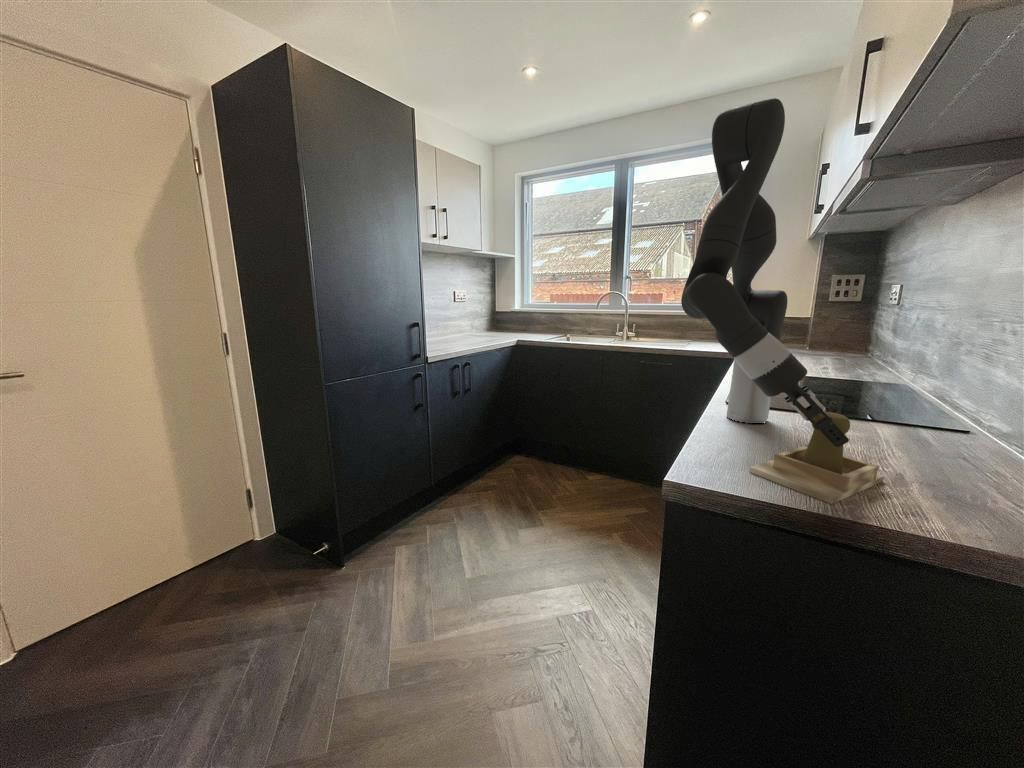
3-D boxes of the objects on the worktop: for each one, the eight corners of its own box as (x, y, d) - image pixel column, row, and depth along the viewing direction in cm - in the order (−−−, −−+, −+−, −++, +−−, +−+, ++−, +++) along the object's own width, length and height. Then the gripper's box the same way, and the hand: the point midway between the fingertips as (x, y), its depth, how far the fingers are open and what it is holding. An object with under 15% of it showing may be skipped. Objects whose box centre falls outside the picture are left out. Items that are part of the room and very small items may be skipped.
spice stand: (802, 455, 82) (805, 439, 81) (883, 481, 71) (887, 462, 70) (749, 471, 73) (752, 453, 73) (831, 504, 62) (836, 483, 61)
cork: (802, 475, 70) (814, 415, 67) (797, 463, 75) (807, 406, 73) (846, 484, 67) (860, 421, 65) (837, 470, 72) (850, 412, 70)
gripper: (796, 355, 64) (873, 436, 61) (782, 346, 76) (846, 413, 74) (752, 384, 67) (824, 462, 65) (746, 371, 80) (806, 435, 77)
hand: (836, 436), depth 69 cm, fingers open, 8 cm apart
